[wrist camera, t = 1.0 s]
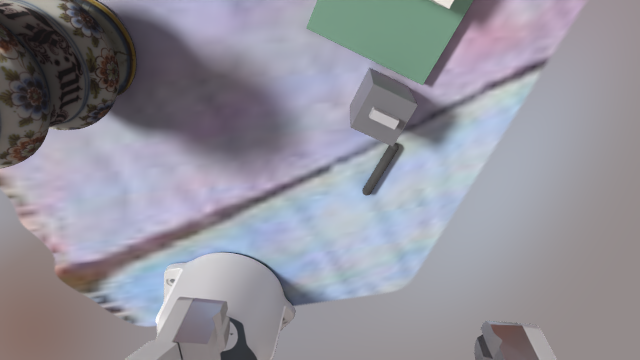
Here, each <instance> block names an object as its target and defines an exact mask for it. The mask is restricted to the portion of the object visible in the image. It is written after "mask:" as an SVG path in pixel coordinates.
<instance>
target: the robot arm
mask: <svg viewBox="0 0 640 360" xmlns="http://www.w3.org/2000/svg"><path fill="white" fill-rule="evenodd" d="M294 315H295V309H294V307H293V306H292V304H291V303H290V302H289V301H288V300H287V299H286V298H285V296H284V293H283V289H282V286H281V284H280V282H279V280H278V279H277V277H276V276H275V275H274V274H273V273H272V272H271V271H270V270H269V269H268V268H267V267H266V266H264V265H263V264H261V263H259V262H258V261H256V260H254V259H251V258H249V257H246V256H243V255H239V254H234V253H211V254H207V255H203V256H201V257H198V258H196V259H195V260H193V261H190V262H187V263H176V264H171V265H169V266H168V267H167V268H166V271H165V273H164V303H163V305H162V307H161V309H160V311H159V313H158V315H157V318H156V323H157V335H158V336H157V338H156V339H155V341H149V342H148V343H146V344H145V345H144V346H142V347H141V348H139V349H138V350H137V351H135V352H134V353H133V354H131V355H130V356H129V357H127V358H126V359H125V360H272V359H273V357H274V354H275V350H276V346H277V342H278V338H279V334H280V331H281V330H282V329H283V328H284V327H285V326H286V325H287V324H288V323H289V322H290V321H291V320H292V319H293V318H294ZM481 330H482V333H483V335H481V336H479V337H478V338H477V340H476V343H475V360H557V359H556V357H555V355H554V353H553V351H552V350H551V348H550V346H549V344H548V342H547V340H546V339H545V337H544V335H543V333H542V331H541V329H540V328H539V327H538V326H537V325H534V324H521V323H519V324H518V323H511V322H495V321H485V322H484V323H483V325H482V327H481Z"/></svg>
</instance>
